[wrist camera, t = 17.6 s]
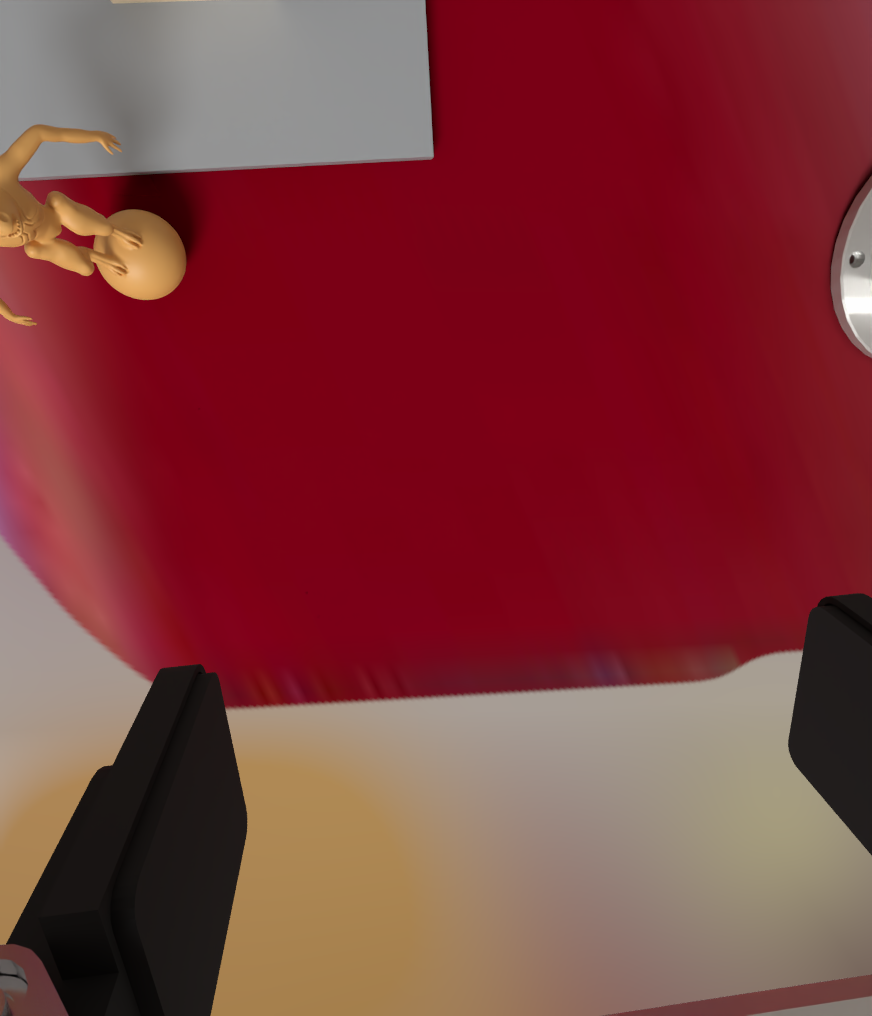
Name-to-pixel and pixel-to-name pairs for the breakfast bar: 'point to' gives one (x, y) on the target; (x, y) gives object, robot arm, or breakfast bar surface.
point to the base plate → (215, 83)
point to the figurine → (86, 227)
